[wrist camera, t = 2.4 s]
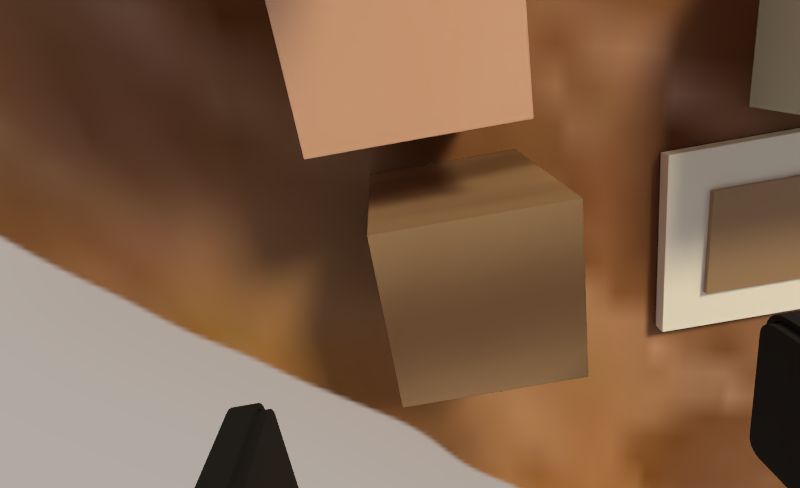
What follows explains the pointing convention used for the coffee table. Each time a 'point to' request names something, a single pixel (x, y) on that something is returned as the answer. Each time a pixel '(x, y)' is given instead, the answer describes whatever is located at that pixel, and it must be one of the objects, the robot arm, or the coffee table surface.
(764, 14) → the sage base block
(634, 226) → the coffee table surface
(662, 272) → the tile
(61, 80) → the coffee table surface
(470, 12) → the terracotta block
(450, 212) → the walnut block
